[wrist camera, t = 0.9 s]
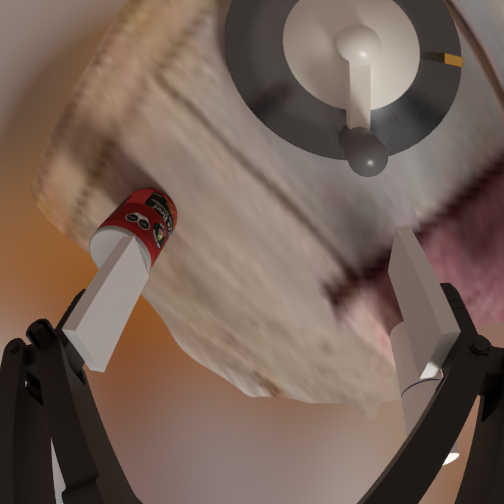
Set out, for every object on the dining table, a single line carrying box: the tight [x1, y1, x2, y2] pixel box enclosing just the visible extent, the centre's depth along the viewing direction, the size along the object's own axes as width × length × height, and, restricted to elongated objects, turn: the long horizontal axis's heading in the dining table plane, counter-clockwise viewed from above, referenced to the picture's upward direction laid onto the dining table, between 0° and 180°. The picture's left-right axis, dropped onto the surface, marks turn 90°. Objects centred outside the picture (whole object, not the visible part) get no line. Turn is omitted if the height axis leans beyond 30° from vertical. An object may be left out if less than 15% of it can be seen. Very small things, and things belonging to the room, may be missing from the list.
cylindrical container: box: [390, 321, 459, 465], centre depth 40 cm, size 7×7×25 cm
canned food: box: [89, 188, 177, 273], centre depth 38 cm, size 8×8×11 cm
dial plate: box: [225, 0, 463, 161], centre depth 27 cm, size 26×26×2 cm
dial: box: [283, 0, 420, 177], centre depth 24 cm, size 19×14×8 cm
